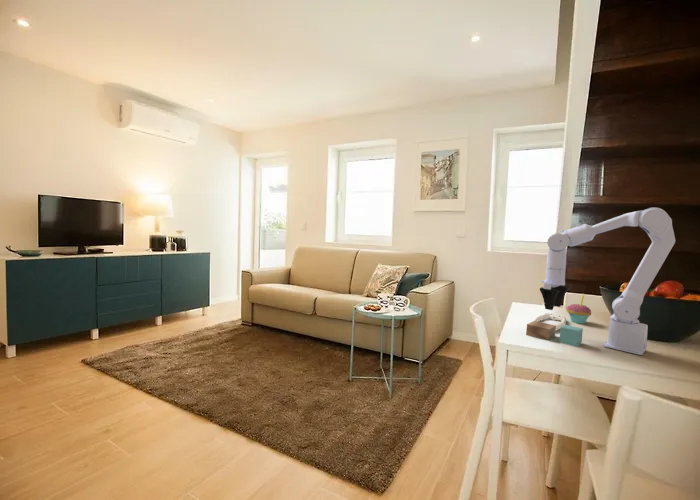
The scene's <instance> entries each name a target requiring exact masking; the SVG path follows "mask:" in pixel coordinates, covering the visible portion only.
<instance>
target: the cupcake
mask: <svg viewBox="0 0 700 500" xmlns="http://www.w3.org/2000/svg"><path fill="white" fill-rule="evenodd" d="M584 297H585V294H584V293H582V295H581V298H580V303H574V304H573V303H572V304H569V305H568V306H566V307H565V311H566V312H567V314H568V315H569V318H570V321H571V322H573V323H574V324H580V325H581V324H586V322H587V320H588V319H589V317H590V316H592V310H591V309H590V307H588V306H587V305H583V301H584Z"/></svg>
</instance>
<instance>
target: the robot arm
mask: <svg viewBox="0 0 700 500" xmlns="http://www.w3.org/2000/svg"><path fill="white" fill-rule="evenodd" d="M623 227H639V228H641V229H642V230H643V231H644V232H646V234H647V236H648V237H649V238H650V240H651V244H650V245H649V247H648V249H647V250H646V252H645V254H644V255H643V258H642V259H641V261H640V262H639V265H638V266H637V268H636V270H635V272H634V273H633V275H632V277H631V279H630V281H629V282H628V284H627V285H626V287H625V289H624V290H623V291H622V293H621V294H620V295H619V296H618V297H616V298H615V299H613V301H612V304H611V307H612V308H611V309H612V310H613V314H612V315H610V316H609V324H608V334H607V341H606V342H605V343H603V347H605V348H609V349H614V350H618V351H621V352H625V353H631V354H635V355H639V356H642V355H644V353H645V352H646V350H647V340H648V331H649V330H648V328H649V327H648V324H646V323H643V322H642V323H641V322H640V319H638V318H639V317H640V316H641V305H642V304H643V302H644V297H645V295H646V293H647V292H648V290H649V288H650V287H651V285H652V283H653V281H654V279H655V278H656V276H657V274H658V273H659V270H660V269H661V268H662V266H663V264H664V262H665V261H666V259H667V257H668V255H669V253H670V252H671V250H672V248H673V247H674V245H675V244H676V237H675V232H674V228H673V219H672V218H671V217H670V215H669V214H668V213H667V212H666V211H665V210H664V209H662V208H660V207H648V208H646V209H643V210H642V209H641V210H637V211H632V212H627V213H623V214H622V215H619V216H615V217H612V218H610V219H607V220H605V221H604V220H603V221H602V222H599V223H596V224H594V225H589V224H587V223H584V224H581V223H577V224H576V226H574V227H572V228H569V229H566V230H564V229H561V230H560V232H559V233H558V232H555V233H554V234H552V235H550V236H548V238H547V242H546V243H547V247H548V249H547V255H546V265H545V266H546V267H545V277H544V278H545V279H541V283H543V287H539V292H540V293H541V295H542V298H543V304H544V309H545V310H549V311H553V310H554V307H558V308H561V306H562V303H563V300H564V297H565V295H566V293H567V291H568V290H569V286H566V268H567V255H566V253H567V247H570V248H571V247H575V246H578V245H581V244H584V243H587V242H591V241H593V240H594V237H596V235H598V234H602V233H606V232H608V231H612V230H615V229H619V228H623Z"/></svg>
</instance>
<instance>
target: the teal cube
mask: <svg viewBox="0 0 700 500" xmlns="http://www.w3.org/2000/svg"><path fill="white" fill-rule="evenodd" d="M559 330H560V331H559V343H561V344H565V345H570V346H573V347H579V346H580V345H582V342H583V333H584V332H583V331H584V329H583V328H582V327H578V326H573V325H567V324H565V325H564V326H562V327H561V329H559Z"/></svg>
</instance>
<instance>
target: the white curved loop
mask: <svg viewBox="0 0 700 500" xmlns="http://www.w3.org/2000/svg"><path fill="white" fill-rule="evenodd" d="M543 319H544V320H551V321H552V320H553V321H556V320H557V321H559V322H560V323H559V324H555V325H556V332H557V331H559V330H560V329H561V327H562V326H564V325H567V324H566V323H567V319H566V316H564V315H563V314H561V315H554V314H553V313H550V312H546V313H544V314H542V315H539V316H537V317H535V318H534V319H533V321H537V322H538V321H539V322H541V321H544V320H543ZM540 320H541V321H540Z"/></svg>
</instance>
